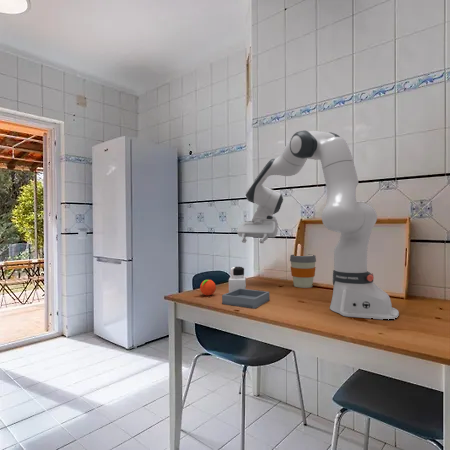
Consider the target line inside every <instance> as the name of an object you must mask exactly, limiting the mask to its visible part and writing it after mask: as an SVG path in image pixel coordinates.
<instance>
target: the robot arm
mask: <svg viewBox="0 0 450 450" xmlns="http://www.w3.org/2000/svg"><path fill="white" fill-rule="evenodd" d="M353 158H354V157H353V155H352V152H351V150H350V147H349V144H347V140H345V139H344V138H343V137H341V136H340V135H338V134H337V133H334V132H327V131H321V130H299V131H295V133H293V135H292V136H291V138H290V139H289V140H288V142H287V143H286V145H285V147H284V148H283V150H282V152H281V154H280V155H278V157H275V158H271V159H270V160H269V161H268V162H267V164H265V166H264V167H263V168H262V169H261V171H260V173H258V175H257V176H256V178H255V179H254V180H253V182H252V183H251V184H250V185H249V186H248V187H247V189H246V191H245V196H246V197H245V198H246V200H247V201H248V202H249V203H253V204H255V205H257V208H256V211H255V213H254V214H253V217H252V219H251V220H245V221H243V222H241V223H240V224H239V226H238V227H237V230H236V233H237V235H238V236H239V237H240V238H241V237H242V239H241V242H242V243H245V244H246V242H247V238H259V239H260V240H259V243H260V244H264V243H265V241H266V240H268V238H276V236H277V235H278V229H279V224H278V220H277V219H276V217H275V216H273V215H275V214H277V213H278V212H279V211H280V209H281V207H282V204H283V201H284V197H283V194H282V193H280V192H278V191H277V190H274V189H271V188H269V187H267V186H265V185H263V184H264V183H265V181H266V180H267V179H268V178H269V177H270V176H280V177H281V176H283V177H293V176H295V175H297V174H298V173H300V172H301V170H302V169H303V167H304V166H305V164H306V161H307V160H308V159H309V160H314V161H315V160H318V161H320V162H321V168H322V172H323V177H324V181H325V187H326V205H325V207H324V208H323V210H322V213H321V221H322V222H321V223H322V224H323V226H324V227H325V228H326V229H327V230H330V231H332V232H335V233H339V234H340V237H339V240H338V243H337V244H336V245H335V248H334V250H333V254H334V256H333V257H334V258H333V268H334V269H333V270H332V285H333V290H332V291H333V292H332V298H331V302H330V306H329V310H331V311H332V312H335V313H338V314H340V315H341V316H343V317H347V318H348V317H349V318H360V319H361V318H364V319H371V318H373V319H374V320H383V319H388V320H387V321H390V320H389V319H394V320H396V319H395V318H397V317H398V316H400V312H399V309H397V308H395V307H392V306H393V305H392V304H393V303H392V300H391V298H390V296H389V294H388V293H387V292H386V291H385V290H383V289H382V288H381V287H379V286H378V285H377V284H375V283H374V279H375V278H374V273H372V272H370V271H368V249H369V248H368V247H369V243H370V240H371V239H370V238H371V236H372V235H371V234H372V230H373V228H374V226H375V225H376V224H377V223H376V222H377V221H378V214H377V211H376V210H375V208H374V207H373V206H371V205H370V204H368V203H366V202H362V201H357V199H356V198H357V197H356V192H357V187H358V185H359V178H358V174H357V170H356V166H355V161H354V159H353ZM398 318H399V317H398ZM398 318H397V319H398Z"/></svg>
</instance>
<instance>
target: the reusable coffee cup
mask: <svg viewBox="0 0 450 450" xmlns="http://www.w3.org/2000/svg"><path fill="white" fill-rule="evenodd" d="M294 255H295V254H290V256H289V257H290V258H289V262H290V272H291V273H290V274H291V276H292V283H293V286H294V287H295V288H296V287H297V288H303V289H306V288H307V289H308V288H313V285H312V284H314V277H315V276H316V269H317V267H316V262H317V257H316V255H315V254H312V255H313V256H294Z"/></svg>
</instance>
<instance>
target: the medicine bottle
mask: <svg viewBox="0 0 450 450" xmlns="http://www.w3.org/2000/svg"><path fill="white" fill-rule="evenodd" d="M229 273H230V276H229V278H228V293H229V292H231V291H234V290H236V289H239V288H240V289H247V288H246V286H247V285H246V284H247V283H246V282H247V281H246V280H247V278H246V276H245V268H244V267H243V266H233V267H230V272H229Z"/></svg>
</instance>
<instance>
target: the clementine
mask: <svg viewBox="0 0 450 450" xmlns="http://www.w3.org/2000/svg"><path fill="white" fill-rule="evenodd" d="M216 286H217V285H216V283H215V282H214V281H213V280H212V279H205V280H203V281H202V282H201V283H200V286H199V289H200V292H201V294H203V295H204V296H206V297H207V296H212V295H213V294H214V293H215V292H216V289H217V287H216Z"/></svg>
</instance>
